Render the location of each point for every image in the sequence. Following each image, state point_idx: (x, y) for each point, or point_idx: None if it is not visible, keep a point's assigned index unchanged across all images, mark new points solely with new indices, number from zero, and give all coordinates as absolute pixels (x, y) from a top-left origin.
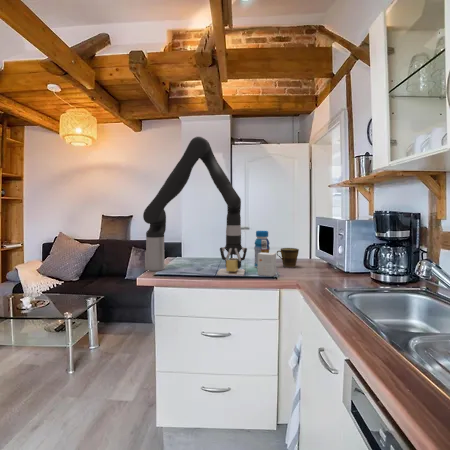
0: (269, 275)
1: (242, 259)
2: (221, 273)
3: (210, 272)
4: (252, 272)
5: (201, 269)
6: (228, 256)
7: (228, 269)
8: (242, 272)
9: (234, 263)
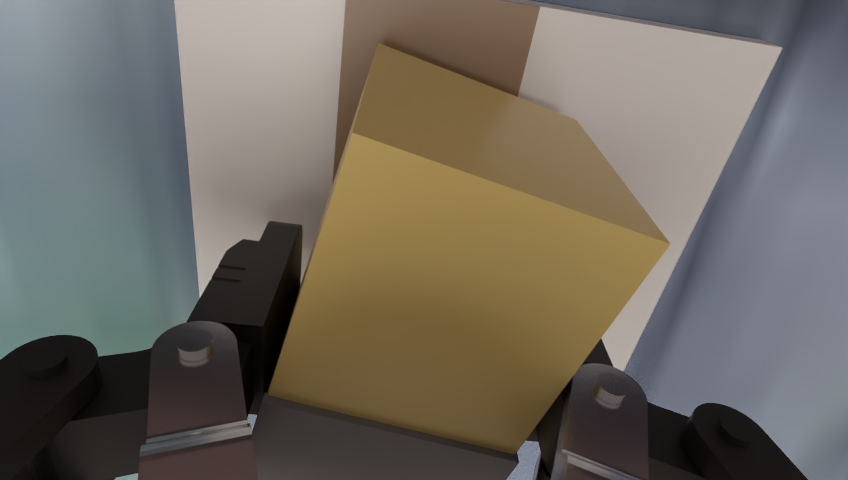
0: None
1: (96, 352)
2: (685, 44)
3: (791, 269)
4: (65, 252)
5: (838, 439)
6: (592, 462)
7: (537, 115)
8: (222, 131)
9: (385, 112)
